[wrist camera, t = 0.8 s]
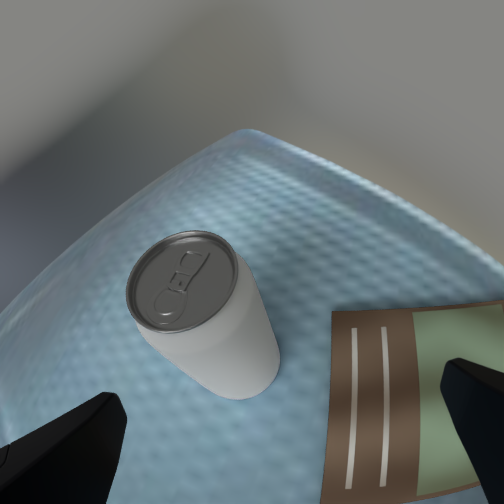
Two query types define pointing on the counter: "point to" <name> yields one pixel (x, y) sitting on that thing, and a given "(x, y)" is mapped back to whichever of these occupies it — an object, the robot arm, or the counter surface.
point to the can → (204, 313)
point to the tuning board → (401, 401)
